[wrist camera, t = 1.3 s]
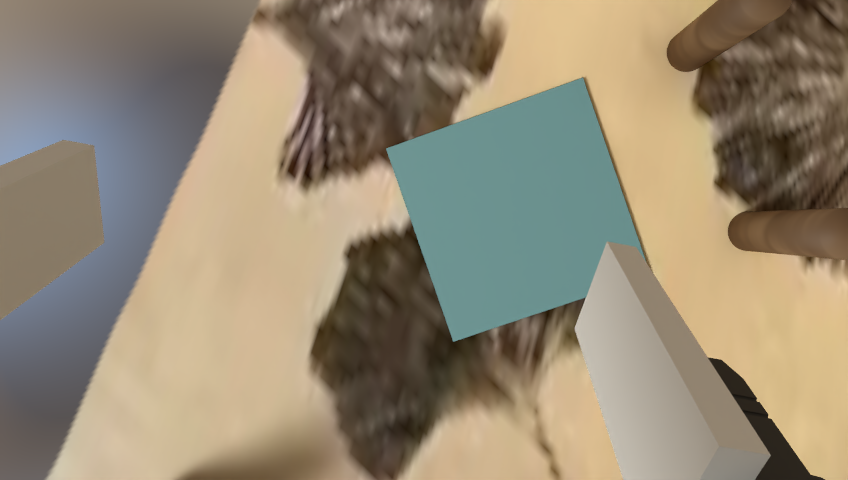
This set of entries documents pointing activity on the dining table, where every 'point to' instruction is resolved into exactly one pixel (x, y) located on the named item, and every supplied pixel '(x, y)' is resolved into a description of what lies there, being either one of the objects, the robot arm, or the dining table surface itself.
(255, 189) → the dining table surface
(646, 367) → the robot arm
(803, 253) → the inner post
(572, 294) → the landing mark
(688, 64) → the outer post
